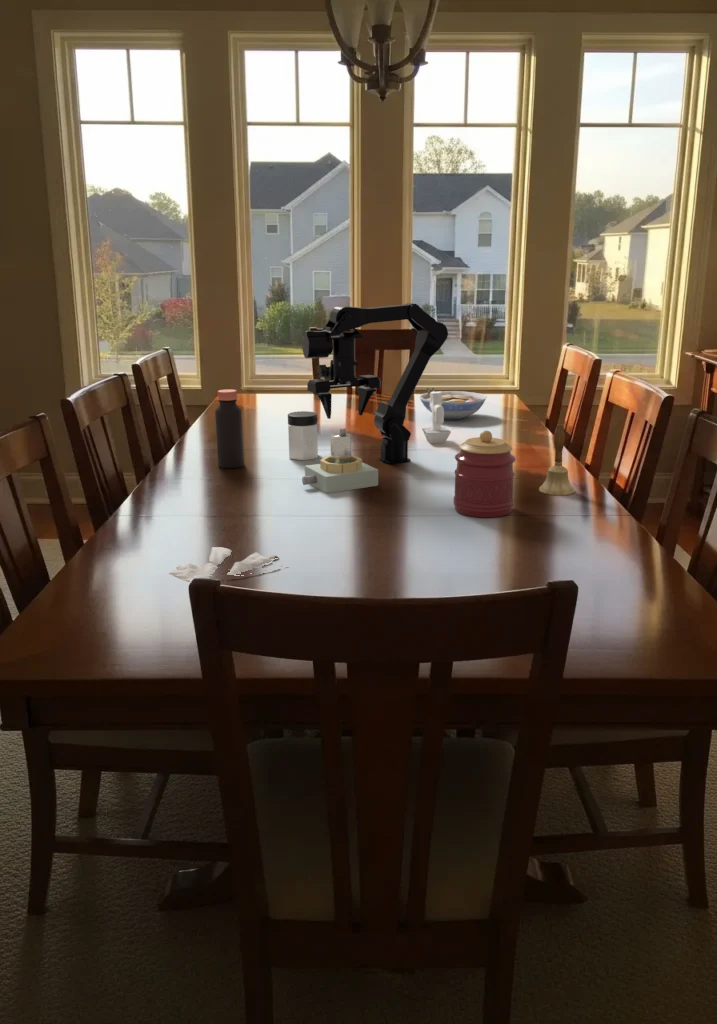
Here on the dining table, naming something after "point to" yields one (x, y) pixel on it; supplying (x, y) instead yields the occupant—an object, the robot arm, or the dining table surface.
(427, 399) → the ramen bowl
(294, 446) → the jar
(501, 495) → the canister
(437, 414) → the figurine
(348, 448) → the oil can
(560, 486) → the hand bell
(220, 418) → the bottle
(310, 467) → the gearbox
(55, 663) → the dining table surface
